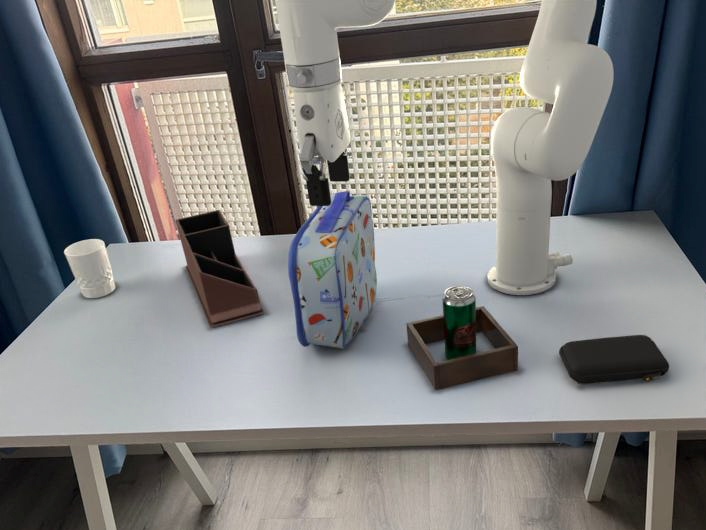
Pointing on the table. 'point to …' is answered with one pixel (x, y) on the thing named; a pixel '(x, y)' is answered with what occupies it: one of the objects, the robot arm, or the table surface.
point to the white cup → (91, 267)
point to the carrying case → (613, 359)
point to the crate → (466, 366)
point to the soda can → (459, 322)
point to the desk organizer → (217, 269)
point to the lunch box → (333, 271)
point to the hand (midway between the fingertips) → (330, 192)
